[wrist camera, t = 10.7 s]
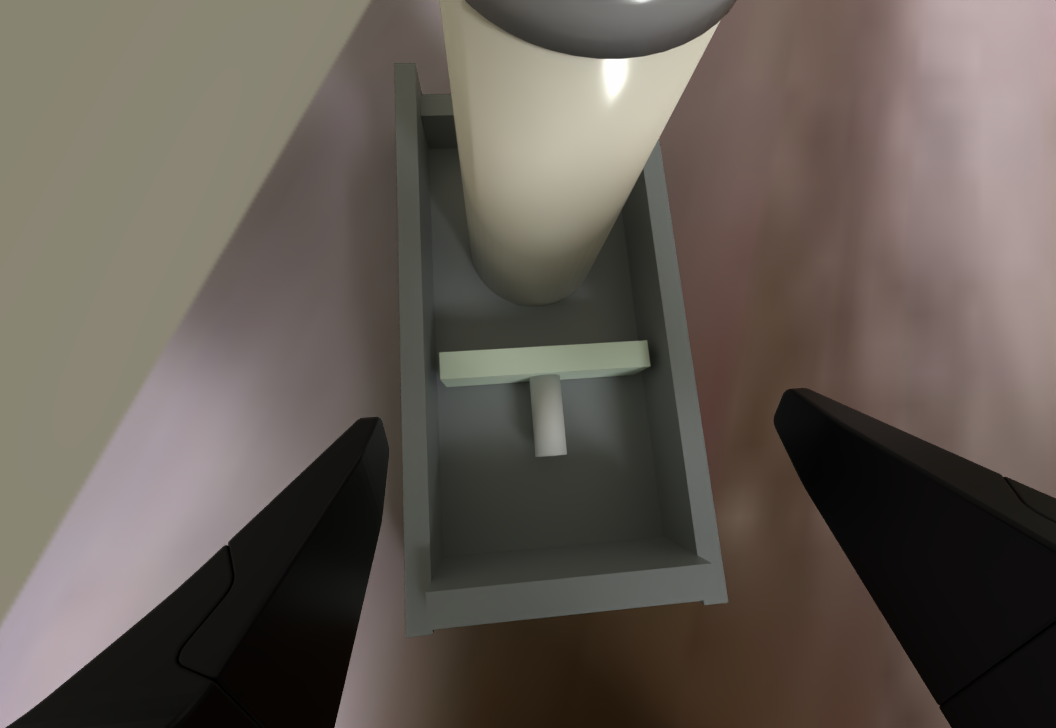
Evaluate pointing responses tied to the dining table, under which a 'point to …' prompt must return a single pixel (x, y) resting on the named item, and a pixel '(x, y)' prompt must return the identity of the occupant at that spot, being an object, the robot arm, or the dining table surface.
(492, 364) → the spring pusher
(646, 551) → the pusher lane
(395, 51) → the dining table surface
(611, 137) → the jar
